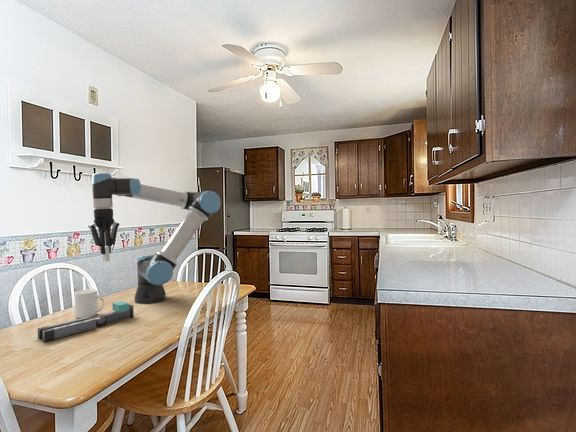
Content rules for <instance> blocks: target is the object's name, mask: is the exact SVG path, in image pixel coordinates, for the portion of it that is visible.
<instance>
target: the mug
mask: <svg viewBox="0 0 576 432" xmlns="http://www.w3.org/2000/svg"><path fill="white" fill-rule="evenodd" d="M98 300H100V301H101V302H102V306H101V307H100V308H98V305H99V304H98ZM104 306H105V301H104V298H103V297H102V296H101V295H100V294H98V290H97V289H94V288H93V289H92V288H89V289H87V288H86V289H82V290H80V289H79V290H78V291H75V292H74V315H75V318H77V319H81V318H85V317H90V318H92V317H96V315H97V314H98V313H99V312H102V310H103V309H104Z"/></svg>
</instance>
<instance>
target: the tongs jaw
mask: <svg viewBox="0 0 576 432" xmlns="http://www.w3.org/2000/svg"><path fill="white" fill-rule="evenodd" d="M96 328H97V327H96V319H94V317H93V318H90V319H89V320H84V321H80V322H76V323H72V324H68V325H64V326H60V327H55V328H50V329H46V330H42V339H41V340H42V341H43V342H45V343H46V342H49V341H53V340H56V339H60V338H65V337H68V336H71V335H76V334H79V333H83V332H87V331H91V330H93V329H96Z"/></svg>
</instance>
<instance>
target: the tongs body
mask: <svg viewBox="0 0 576 432" xmlns="http://www.w3.org/2000/svg"><path fill="white" fill-rule="evenodd" d="M134 315H135V313H134V305H133V304H130V303H129V310H128V311H124V312H120V313H119V312H116V311H111V312H108V313H102V314H101V315H98V316H93V318H94V319H96V328H102V327H105V326H107V325H109V324H112V323H116V322H121V321H124V320H128V319H134V317H135V316H134ZM89 319H91V317H85V318H77V319H73V320H69V321H64V322H60V323H56V324H55V323H54V324H51V325H45V326H42V327H38V328H37V338H38V339H39V340H42V330H46V329H50V328H55V327H60V326H64V325H68V324H72V323H76V322H80V321H84V320H89Z"/></svg>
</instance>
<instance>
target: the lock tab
mask: <svg viewBox="0 0 576 432" xmlns="http://www.w3.org/2000/svg"><path fill="white" fill-rule="evenodd" d="M129 304H130V303H129V302H127V301H123V300H120V301H115V302H112V306H111V307H112V311H113V312H115V311H116V312H119V313H120V312H124V311H128V310H129Z"/></svg>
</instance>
